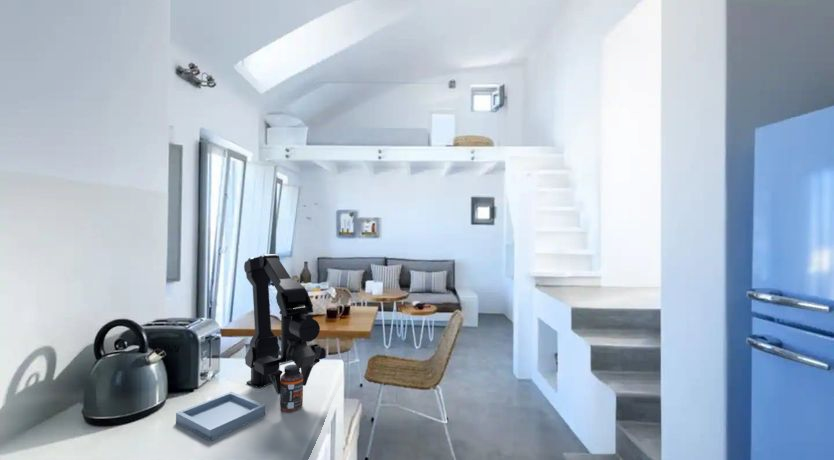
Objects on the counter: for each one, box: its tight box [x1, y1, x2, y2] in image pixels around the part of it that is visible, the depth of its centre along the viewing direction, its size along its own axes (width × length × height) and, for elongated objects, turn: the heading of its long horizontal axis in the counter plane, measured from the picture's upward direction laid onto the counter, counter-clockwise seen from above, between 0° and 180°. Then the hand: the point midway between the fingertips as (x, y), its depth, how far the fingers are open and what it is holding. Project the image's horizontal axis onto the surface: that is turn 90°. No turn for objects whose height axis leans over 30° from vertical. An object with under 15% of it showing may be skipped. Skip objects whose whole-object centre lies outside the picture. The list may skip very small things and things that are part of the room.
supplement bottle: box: [279, 364, 304, 413], centre depth 108 cm, size 6×6×11 cm
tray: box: [175, 391, 266, 442], centre depth 102 cm, size 15×15×2 cm
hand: (291, 389), depth 108 cm, fingers open, 7 cm apart
